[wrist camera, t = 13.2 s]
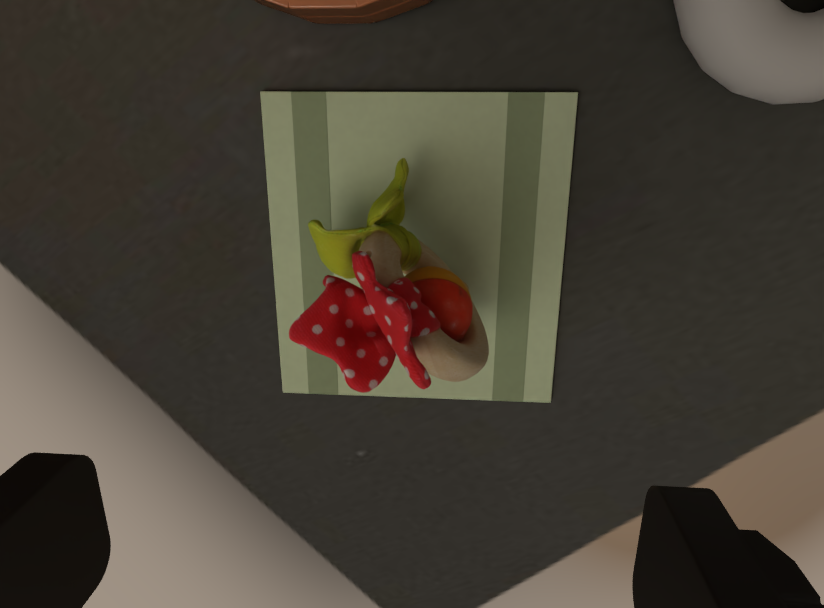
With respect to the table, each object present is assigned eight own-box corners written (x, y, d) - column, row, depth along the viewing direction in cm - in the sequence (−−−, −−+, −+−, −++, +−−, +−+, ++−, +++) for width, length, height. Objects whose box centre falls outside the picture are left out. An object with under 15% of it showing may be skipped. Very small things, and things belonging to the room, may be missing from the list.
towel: (261, 91, 27) (259, 91, 27) (577, 92, 26) (578, 92, 26) (284, 390, 32) (282, 392, 31) (550, 400, 31) (551, 403, 30)
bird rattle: (496, 232, 30) (363, 116, 25) (601, 380, 21) (427, 244, 16) (411, 315, 32) (271, 222, 27) (475, 483, 23) (284, 388, 18)
